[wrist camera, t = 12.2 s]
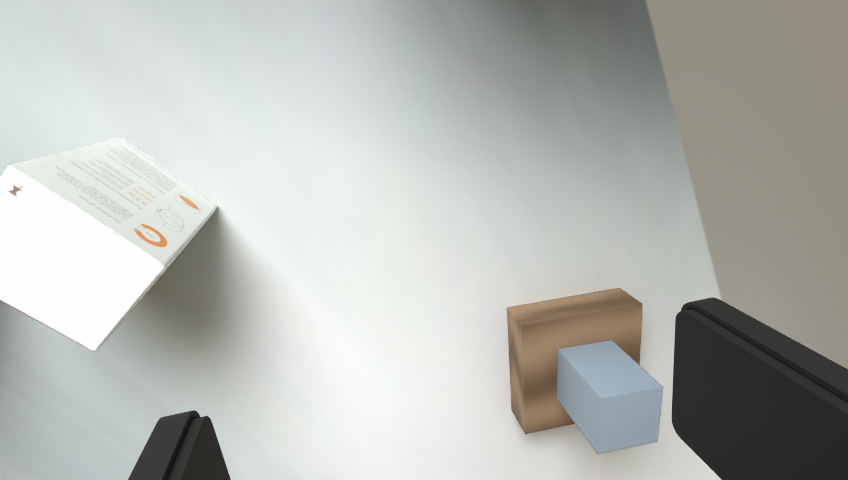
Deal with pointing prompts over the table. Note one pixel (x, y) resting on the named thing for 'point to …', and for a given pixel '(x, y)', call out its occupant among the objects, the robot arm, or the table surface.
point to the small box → (91, 235)
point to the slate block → (608, 396)
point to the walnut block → (561, 328)
